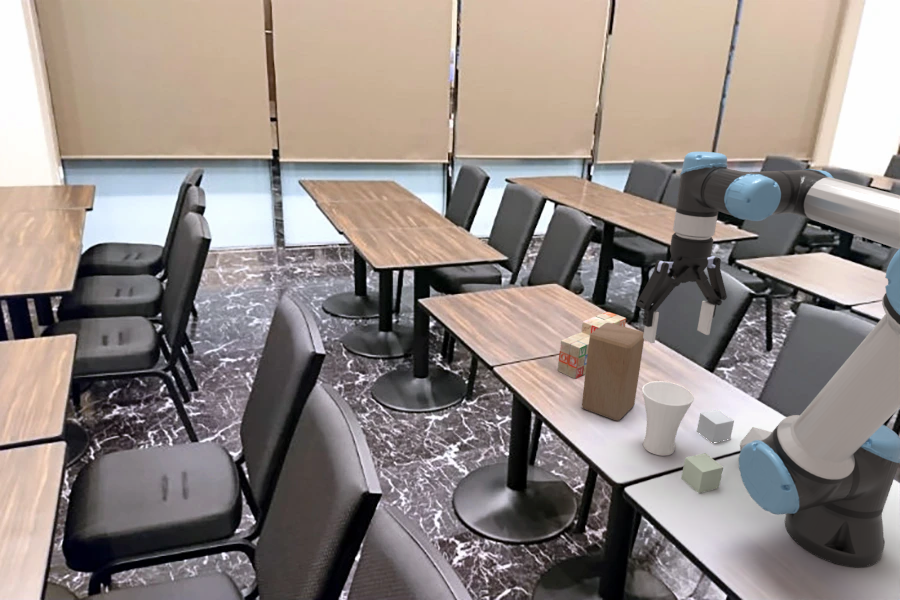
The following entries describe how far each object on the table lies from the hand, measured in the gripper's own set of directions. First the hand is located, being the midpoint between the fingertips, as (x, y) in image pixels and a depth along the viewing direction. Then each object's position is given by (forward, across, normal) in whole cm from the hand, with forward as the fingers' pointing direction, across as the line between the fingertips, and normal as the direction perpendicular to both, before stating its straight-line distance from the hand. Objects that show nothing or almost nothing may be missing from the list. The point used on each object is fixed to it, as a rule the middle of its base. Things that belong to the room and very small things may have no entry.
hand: (676, 336), depth 128 cm
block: (+26, +1, -18) cm, 32 cm away
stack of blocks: (+26, -8, -40) cm, 49 cm away
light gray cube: (+26, -15, 0) cm, 31 cm away
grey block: (+27, -16, +12) cm, 33 cm away
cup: (+27, 0, 0) cm, 27 cm away
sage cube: (+27, 0, +13) cm, 30 cm away
